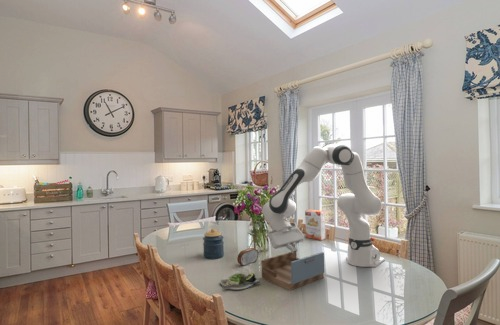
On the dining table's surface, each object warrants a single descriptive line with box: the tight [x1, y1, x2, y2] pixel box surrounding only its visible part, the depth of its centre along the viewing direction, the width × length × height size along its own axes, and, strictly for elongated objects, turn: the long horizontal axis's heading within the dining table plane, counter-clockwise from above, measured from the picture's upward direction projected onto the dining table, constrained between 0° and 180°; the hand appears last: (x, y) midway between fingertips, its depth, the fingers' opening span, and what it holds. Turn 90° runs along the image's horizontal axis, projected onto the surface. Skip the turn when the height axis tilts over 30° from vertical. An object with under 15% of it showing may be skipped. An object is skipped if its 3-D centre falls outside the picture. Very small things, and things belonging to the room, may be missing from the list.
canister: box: [202, 228, 225, 260], centre depth 197 cm, size 13×13×18 cm
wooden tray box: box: [260, 251, 325, 291], centre depth 158 cm, size 24×20×9 cm
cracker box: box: [304, 208, 326, 241], centre depth 233 cm, size 14×6×21 cm, turn 43°
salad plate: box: [219, 272, 261, 291], centre depth 152 cm, size 19×18×5 cm
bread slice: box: [237, 247, 259, 267], centre depth 182 cm, size 15×3×8 cm, turn 134°
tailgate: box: [291, 252, 325, 284], centre depth 149 cm, size 22×2×10 cm, turn 127°
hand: (295, 251), depth 157 cm, fingers closed
